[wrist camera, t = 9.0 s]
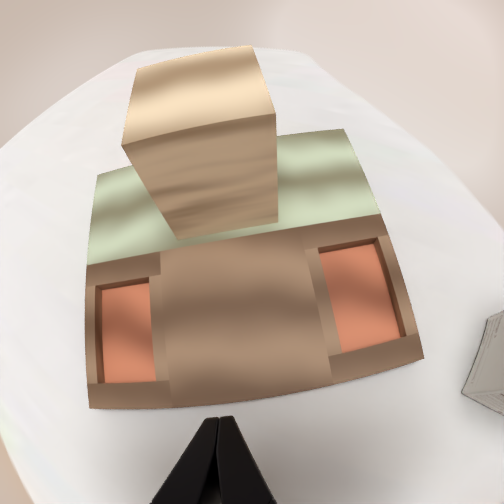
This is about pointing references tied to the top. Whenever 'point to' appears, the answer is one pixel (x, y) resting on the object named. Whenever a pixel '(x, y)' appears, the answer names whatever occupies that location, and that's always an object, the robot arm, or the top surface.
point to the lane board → (245, 291)
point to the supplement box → (489, 367)
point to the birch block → (205, 141)
